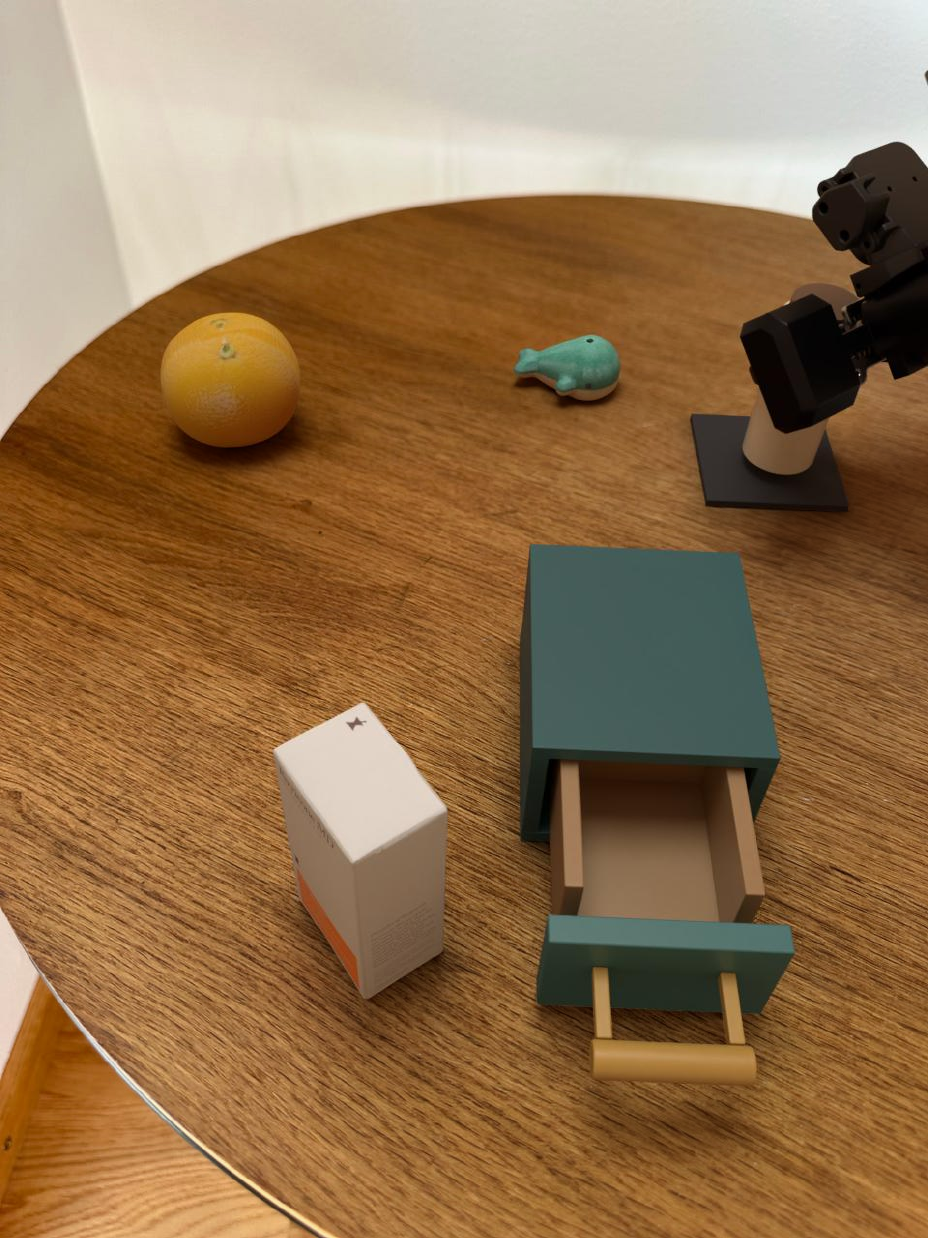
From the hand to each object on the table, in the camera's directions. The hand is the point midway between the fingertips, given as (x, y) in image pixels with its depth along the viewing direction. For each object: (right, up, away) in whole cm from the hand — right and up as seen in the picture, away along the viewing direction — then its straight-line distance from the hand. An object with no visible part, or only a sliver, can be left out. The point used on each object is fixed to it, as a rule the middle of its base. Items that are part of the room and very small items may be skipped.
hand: (780, 362), depth 66 cm
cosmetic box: (-24, -30, -18) cm, 42 cm away
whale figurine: (-12, +1, +10) cm, 16 cm away
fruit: (-35, -3, +6) cm, 35 cm away
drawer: (-12, -30, -19) cm, 37 cm away
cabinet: (-11, -22, -11) cm, 27 cm away
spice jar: (+1, -5, +3) cm, 6 cm away
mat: (0, -6, +5) cm, 7 cm away
